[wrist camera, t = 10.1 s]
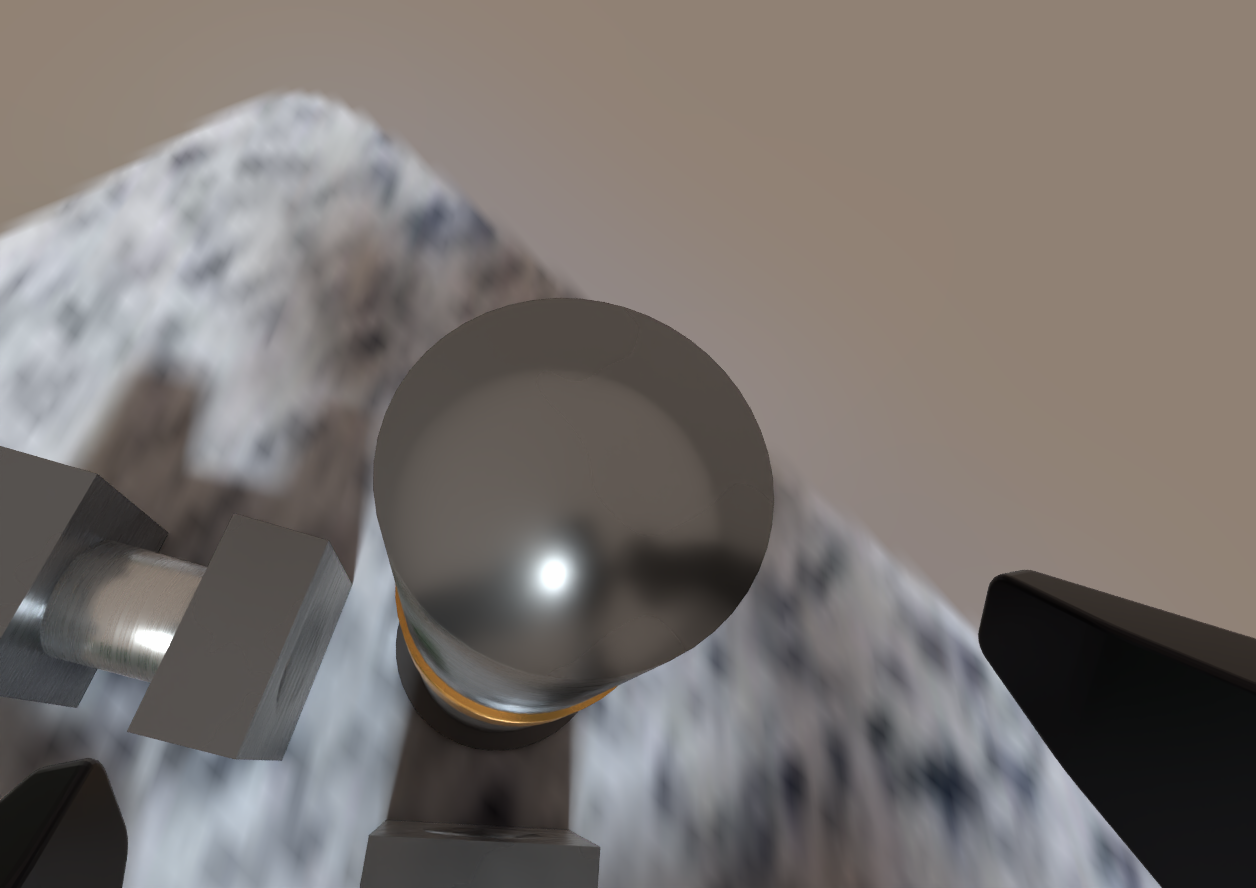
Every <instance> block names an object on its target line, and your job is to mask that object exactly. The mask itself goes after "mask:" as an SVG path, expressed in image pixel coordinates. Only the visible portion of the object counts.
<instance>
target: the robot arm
mask: <svg viewBox="0 0 1256 888" xmlns="http://www.w3.org/2000/svg"><path fill="white" fill-rule="evenodd" d="M978 639H979V644H980V648H981V650H982V653H983V654H984V656H985V658H986V659H987V661H988V662H989V663H990V665H991V666H992V668H993V669H994V671H995V672H996V674H997V675H998V676H999V678H1000V679H1001V681H1002V682H1003V684H1004V685H1005V686H1006V688H1007V689H1008V691H1009V692H1010V694H1011V695H1012V696H1013V698H1014V699H1015V701H1016V702H1017V704H1018V705H1019V706H1020V708H1021V709H1022V711H1023V712H1024V714H1025V715H1026V716H1027V718H1028V719H1029V721H1030V722H1031V724H1032V725H1033V726H1034V728H1035V729H1036V731H1037V732H1038V734H1039V735H1040V736H1041V738H1042V739H1043V741H1044V742H1045V744H1046V745H1047V746H1048V748H1049V749H1050V751H1051V752H1052V753H1053V755H1054V756H1055V758H1056V759H1057V760H1058V762H1059V763H1060V764H1061V766H1062V767H1063V769H1064V770H1065V771H1066V772H1067V774H1068V775H1069V776H1070V777H1071V779H1072V780H1073V781H1074V782H1075V784H1076V785H1077V786H1078V787H1079V789H1080V790H1081V791H1082V792H1083V793H1084V795H1085V796H1086V797H1087V798H1088V800H1089V801H1090V802H1091V803H1092V804H1093V806H1094V807H1095V808H1096V809H1097V810H1098V812H1099V813H1100V814H1101V815H1102V816H1103V818H1104V819H1105V820H1106V821H1107V822H1108V824H1109V825H1110V826H1111V827H1112V828H1113V830H1114V831H1115V832H1116V833H1117V834H1118V836H1119V837H1120V838H1121V839H1122V840H1123V842H1124V843H1125V844H1126V845H1127V846H1128V848H1129V849H1130V850H1131V851H1132V852H1133V854H1134V855H1135V856H1136V857H1137V858H1138V860H1139V861H1140V862H1141V863H1142V864H1143V866H1144V867H1145V868H1146V869H1147V870H1148V872H1149V873H1150V874H1151V875H1152V876H1153V878H1154V879H1155V880H1156V881H1157V882H1158V884H1159V885H1160V886H1161V887H1162V888H1256V639H1255V638H1252V637H1249V636H1245V635H1242V634H1238V633H1236V632H1232V631H1229V630H1225V629H1222V628H1219V627H1216V626H1213V625H1209V624H1206V623H1202V622H1199V621H1196V620H1193V619H1190V618H1186V617H1183V616H1180V615H1177V614H1173V613H1170V612H1167V611H1164V610H1160V609H1157V608H1154V607H1150V606H1147V605H1144V604H1141V603H1137V602H1134V601H1131V600H1128V599H1124V598H1121V597H1118V596H1114V595H1111V594H1108V593H1105V592H1101V591H1098V590H1095V589H1091V588H1088V587H1085V586H1082V585H1078V584H1075V583H1072V582H1068V581H1065V580H1062V579H1059V578H1056V577H1052V576H1049V575H1046V574H1043V573H1039V572H1036V571H1032V570H1020V571H1015V572H1010V573H1005V574H1000V575H998V576H996V577H994V579H993V580H992V581H991V583H990V584H989V587H988V591H987V596H986V601H985V605H984V609H983V614H982V618H981V623H980V627H979V633H978ZM127 853H128V837H127V830H126V826H125V823H124V820H123V817H122V815H121V812H120V809H119V806H118V804H117V801H116V798H115V795H114V793H113V790H112V787H111V784H110V782H109V779H108V776H107V773H106V771H105V769H104V767H103V765H102V764H101V763H100V762H99V761H98V760H95V759H91V758H86V759H81V760H76V761H71V762H66V763H61V764H56V765H51V766H47V767H44V768H41V769H38V770H37V771H35V772H33V773H32V774H31V775H29V776H28V777H27V778H26V779H25V780H23V781H22V782H21V783H20V784H19V785H18V786H17V787H15V788H14V789H13V790H12V791H11V792H10V793H9V794H7V795H6V796H5V797H4V798H3V799H2V800H1V801H0V888H122V885H123V879H124V873H125V867H126V861H127Z"/></svg>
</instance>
